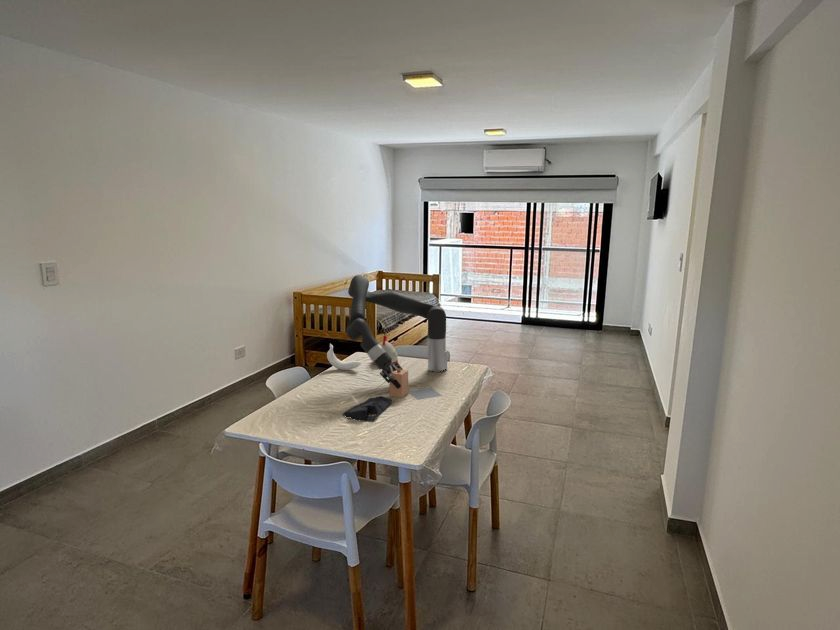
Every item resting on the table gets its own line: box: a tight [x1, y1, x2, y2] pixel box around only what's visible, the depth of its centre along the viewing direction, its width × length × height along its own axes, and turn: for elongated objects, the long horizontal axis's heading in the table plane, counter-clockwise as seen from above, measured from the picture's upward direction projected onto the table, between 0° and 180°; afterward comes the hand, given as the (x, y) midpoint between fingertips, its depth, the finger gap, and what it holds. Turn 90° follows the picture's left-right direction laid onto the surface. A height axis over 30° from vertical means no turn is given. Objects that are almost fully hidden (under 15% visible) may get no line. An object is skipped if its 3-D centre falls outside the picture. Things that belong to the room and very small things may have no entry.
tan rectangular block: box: [389, 369, 409, 398], centre depth 222 cm, size 6×6×12 cm
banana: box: [326, 343, 362, 371], centre depth 259 cm, size 5×19×15 cm, turn 79°
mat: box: [408, 386, 443, 401], centre depth 224 cm, size 12×12×1 cm
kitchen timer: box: [372, 334, 399, 366], centre depth 272 cm, size 14×14×15 cm
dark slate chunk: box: [342, 395, 393, 422], centre depth 206 cm, size 15×22×5 cm
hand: (403, 385), depth 221 cm, fingers closed on tan rectangular block, 6 cm apart
